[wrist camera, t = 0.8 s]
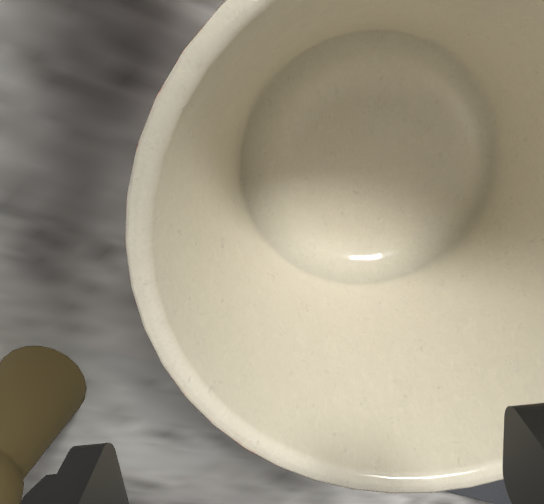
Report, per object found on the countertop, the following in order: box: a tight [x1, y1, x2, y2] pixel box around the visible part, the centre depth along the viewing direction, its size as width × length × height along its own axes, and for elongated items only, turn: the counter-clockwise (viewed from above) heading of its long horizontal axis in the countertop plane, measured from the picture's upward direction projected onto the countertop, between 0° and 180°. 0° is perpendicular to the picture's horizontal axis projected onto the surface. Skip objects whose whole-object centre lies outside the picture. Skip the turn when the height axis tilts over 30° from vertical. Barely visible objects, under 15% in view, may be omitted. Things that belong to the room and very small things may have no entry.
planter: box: [125, 0, 544, 493], centre depth 23 cm, size 19×19×15 cm
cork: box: [0, 346, 86, 504], centre depth 30 cm, size 6×6×11 cm
